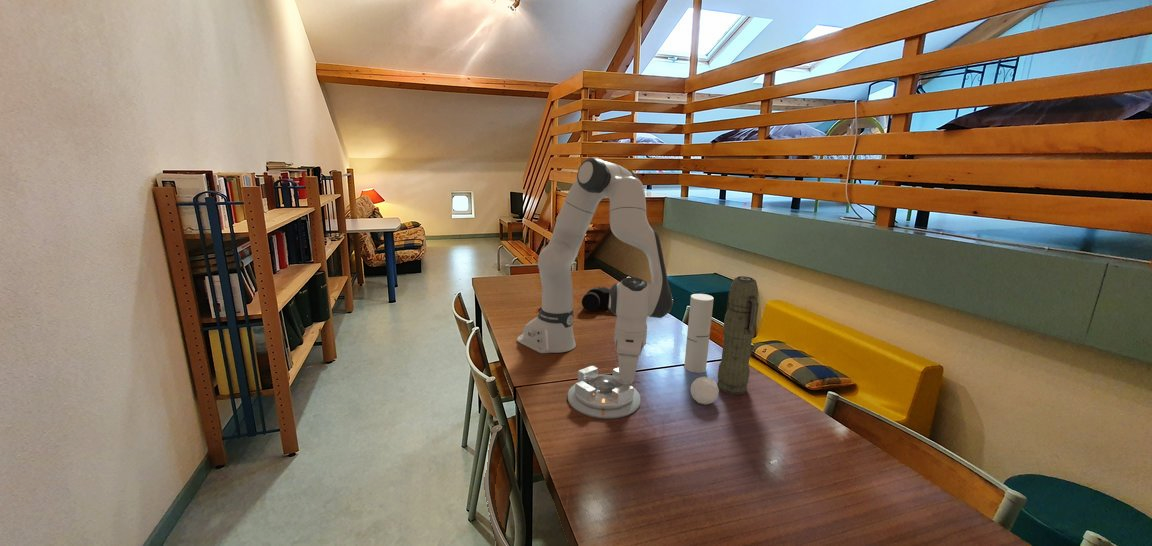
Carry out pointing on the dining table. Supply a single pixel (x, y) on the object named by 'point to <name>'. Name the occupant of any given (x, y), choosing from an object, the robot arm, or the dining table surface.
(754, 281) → the thermos
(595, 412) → the cap plate
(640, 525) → the dining table surface
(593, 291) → the binoculars
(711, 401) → the geometric ball
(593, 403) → the tabbed round base
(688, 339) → the cylindrical container
